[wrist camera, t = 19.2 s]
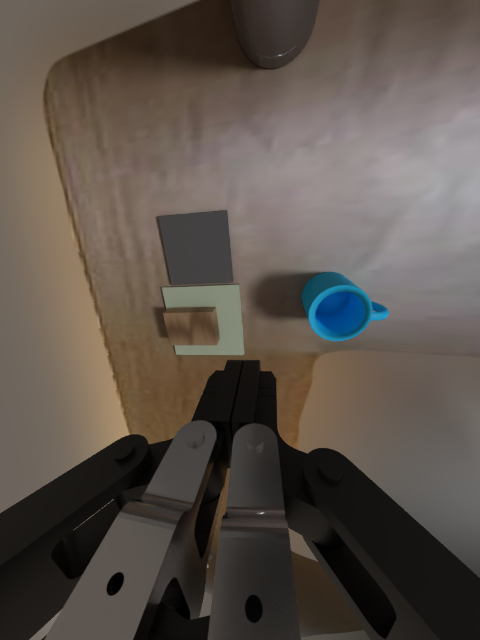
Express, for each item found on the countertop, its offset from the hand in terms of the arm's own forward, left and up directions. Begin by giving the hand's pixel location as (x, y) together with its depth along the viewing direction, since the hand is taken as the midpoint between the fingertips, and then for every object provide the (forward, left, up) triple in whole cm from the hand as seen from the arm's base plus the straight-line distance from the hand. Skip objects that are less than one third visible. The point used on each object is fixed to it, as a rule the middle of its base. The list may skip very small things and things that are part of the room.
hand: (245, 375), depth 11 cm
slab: (+10, -9, -27) cm, 30 cm away
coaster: (-3, -11, -29) cm, 31 cm away
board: (+10, -12, -29) cm, 33 cm away
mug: (+6, +12, -29) cm, 32 cm away
